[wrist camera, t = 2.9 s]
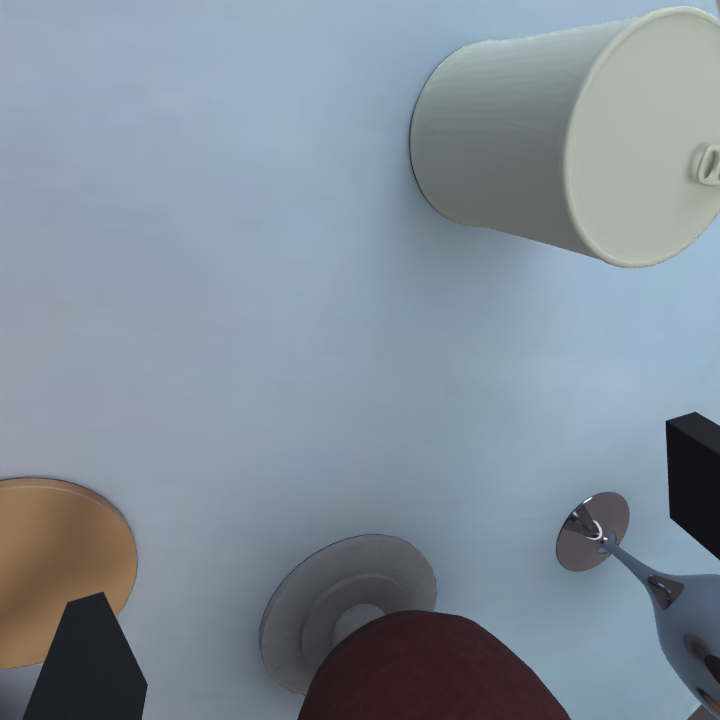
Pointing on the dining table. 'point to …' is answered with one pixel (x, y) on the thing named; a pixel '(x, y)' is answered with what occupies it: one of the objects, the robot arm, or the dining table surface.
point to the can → (580, 136)
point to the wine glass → (654, 594)
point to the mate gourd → (389, 644)
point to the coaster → (56, 561)
